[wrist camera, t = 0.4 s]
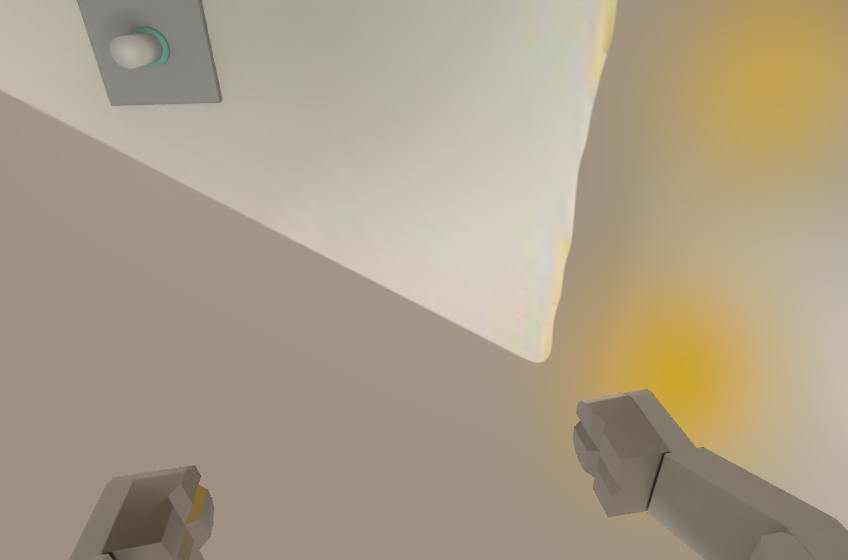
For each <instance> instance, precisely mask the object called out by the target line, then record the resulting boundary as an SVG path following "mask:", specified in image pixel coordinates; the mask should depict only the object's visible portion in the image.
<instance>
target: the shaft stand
mask: <svg viewBox="0 0 848 560" xmlns="http://www.w3.org/2000/svg"><path fill="white" fill-rule="evenodd" d="M77 1H78V5H79V8H80V11H81V14H82V17H83V20H84V23H85V26H86V29H87V32H88V35H89V38H90V41H91V45H92V48H93V51H94V54H95V57H96V60H97V63H98V66H99V69H100V72H101V75H102V78H103V82H104V85H105V88H106V91H107V94H108V97H109V100H110V103H111V106H119V105H154V104H189V103H220V102H221V101H222V97H221V92H220V87H219V83H218V78H217V73H216V68H215V63H214V59H213V54H212V49H211V44H210V40H209V35H208V30H207V25H206V21H205V16H204V11H203V6H202V1H201V0H77Z"/></svg>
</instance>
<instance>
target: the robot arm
mask: <svg viewBox="0 0 848 560" xmlns="http://www.w3.org/2000/svg"><path fill="white" fill-rule="evenodd" d="M576 413H577V415H578V417H579V419H580V421H579V423H578V424H577V425H576V426H575V427H574V436H573V439H574V446H575V451H576V454H577V457H578V459H579V462H580V464H581V466H582V468H583V470H584V471H586V472H587V473H589V474H590V475H592V476H593V477H595V480H594V486H593V489H594V491H595V493H596V495H597V497H598V499H599V501H600V503H601V505H602V507H603V509H604V510H605V512H606V514H607V516H608V517H611V516H618V515H624V514H630V513H636V512H643V511H648V512H647V513H648V514H649V515H650V516H651V517H653V518H654V519H655V520H656V521H658V522H659V523H660V524H661V525H662V526H664V527H665V528H666V529H667V530H669V531H670V532H671V533H673V535H675V536H676V537H678V539H680V540H681V541H682V542H683V543H685V544H686V545H687V546H689V547H690V548H691V549H692V550H693V551H695V552H696V553H697V554H698V555H700V556H701V557H702V558H703V559H704V560H848V531H847V530H846V529H845V528H844V527H843V525H842V524H841V523H840V522H839V521H838V520H836V519H835V518H833V517H832V516H829V515H828V514H826V513H824V512H822V511H820V510H819V509H817V508H815V507H813V506H811V505H809V504H807V503H806V502H804V501H802V500H800V499H798V498H796V497H795V496H793V495H791V494H789V493H787V492H785V491H784V490H782V489H780V488H778V487H776V486H774V485H772V484H771V483H769V482H767V481H765V480H763V479H761V478H760V477H758V476H755V475H753V474H752V473H750V472H748V471H747V470H745V469H743V468H741V467H739V466H737V465H736V464H734V463H732V462H730V461H728V460H726V459H724V458H722V457H721V456H719V455H717V454H715V453H713V452H712V451H710V450H708V449H706V448H704V447H700V448H696V447H695V446H694V444H693V443H692V442H691V441H690V439H689V438H688V437H687V436H686V434H685V433H684V432H683V431H682V429H681V428H680V427H679V426H678V424H677V423H676V422H675V421H674V419H673V418H672V417H671V416H670V414H669V413H668V412H667V411H666V409H665V408H664V407H663V406H662V404H661V403H660V402H659V401H658V399H657V398H656V397H655V396H654V394H653V393H652V392H651V391H649V390H647V389H645V390H639V391H633V392H627V393H619V394H613V395H608V396H602V397H597V398H592V399H586V400H581V401H580V402H579V403H578V405H577V411H576ZM200 478H201V475H200V473H199V471H198V470H197V468H196V466H186V467H179V468H172V469H164V470H158V471H150V472H143V473H138V474H131V475H124V476H118V477H113V478H112V479H111V480H110V481H109V482H108V483H107V484H106V486H105V488H104V490H103V492H102V494H101V496H100V498H99V500H98V502H97V504H96V506H95V508H94V510H93V512H92V514H91V516H90V518H89V520H88V522H87V524H86V526H85V528H84V530H83V532H82V534H81V536H80V538H79V540H78V542H77V544H76V547H75V549H74V551H73V553H72V555H71V557H70V559H69V560H204V558H203V556H202V554H201V552H200V548H201V547H202V546H203V545H204V544H205V543H206V541H207V540H208V539H209V538H210V535H211V530H212V527H213V516H214V514H213V513H214V507H213V502H212V497H211V495H210V493H209V491H208V489H206V488H204V487H202V486H200V485H199V481H200Z"/></svg>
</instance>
